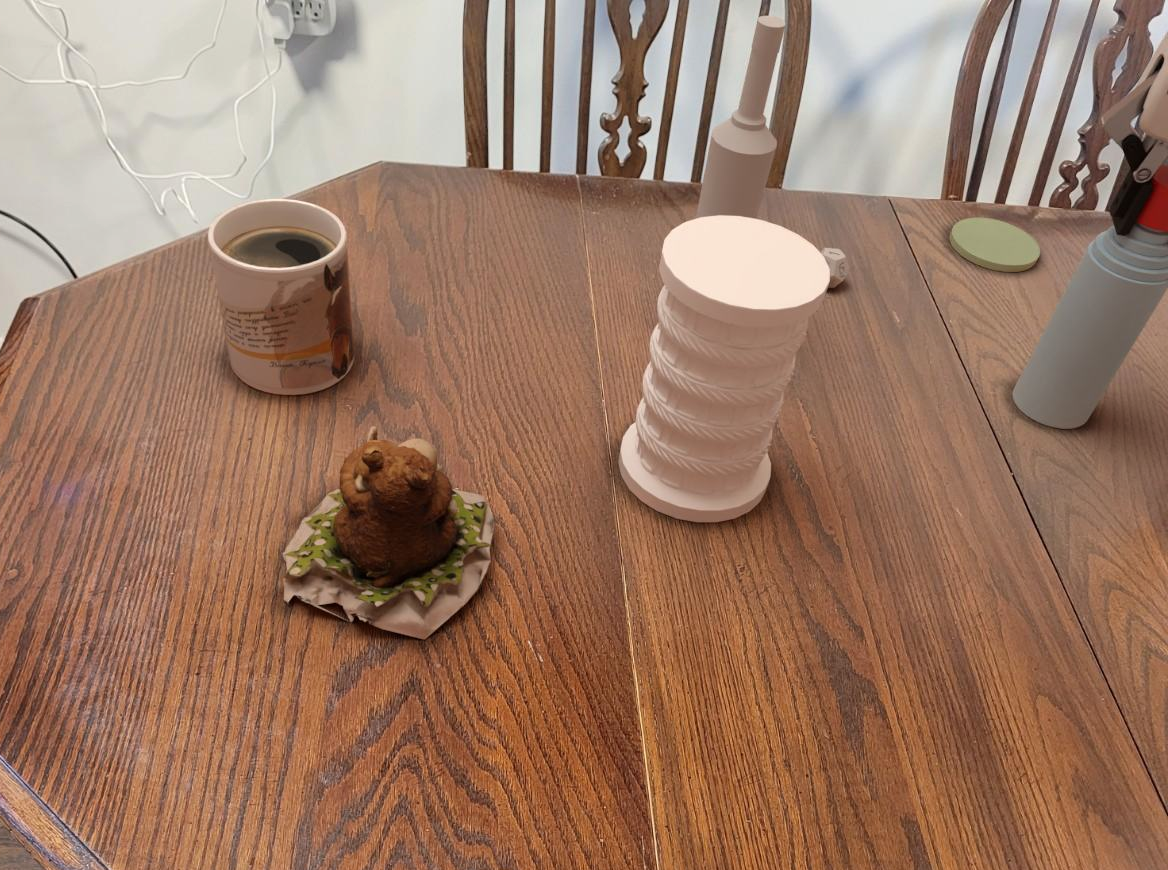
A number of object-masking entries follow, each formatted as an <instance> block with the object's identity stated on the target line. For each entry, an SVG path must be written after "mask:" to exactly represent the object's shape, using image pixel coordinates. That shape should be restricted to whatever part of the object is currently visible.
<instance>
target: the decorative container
mask: <svg viewBox="0 0 1168 870" xmlns="http://www.w3.org/2000/svg"><path fill="white" fill-rule="evenodd" d="M820 252H821V251H819V250H818V249H817V247H815V245H814V244H813V243H811V242H810V241H809V240H807V239H805V238H804V237H803V236H801V235H799V234H798V233H796V232H794V231H792V230H790V229H788V228H786V227H784V226H782V225H779V224H775V223H772V222H769V221H766V220H763V219H758V218H757V219H753V218H748V217H742V216H725V215H718V216H708V217H700V218H697V219H696V218H694V219H690V220H687V221H684V222H683V223H681V224H679V225H677V226H676V227H674V228H673V229H671V231H669V233H668V234H667V235H666V237H665V238H664V240H663V245H662V250H661V254H660V260H659V261H660V262H659V266H658V271H659V274H660V277H661V281H662V283H663V286H662V288H661V290H660V292H659V294H658V297H657V303H656V311H657V315H656V316H657V320H658V323H657V324H656V325H655V327H654V329H653V331H652V332H651V335H650V338H649V358H650V361H649V363H648V364H647V366H646V368H645V370H644V373H643V375H642V385H641V387H642V398H641V400H640V402H639V404H638V406H637V409H636V413H635V414H636V415H635V422H634V423H632V424H630V425H629V427H628V429H626V431H625V433H624V434H623V436H622V440H621V444H620V449H619V450H620V451H619V456H618V461H617V462H618V467H619V473H620V476H621V478H622V480H623V481H624V483H625V486H626V487H627V489H628V490H629V491H630V492H631V493H632V494H633V495H634V496H635V497H636V498H637V499H638V500H640V502H641V503H643V504H646V505H647V506H648V507H650V508H651V509H653V510H655V511H656V512H658V513H661V514H663V515H666V516H669V517H672V518H674V519H677V520H682V521H687V522H692V523H720V522H724V521H729V520H734V519H737V518H739V517H742V516H743V515H745V514H747V513H749V512H751V511H752V510H753V509H754V508H755V507H756V506H757V505H758V504H760V503H761V501H762V500H763V497H764V496H765V493H766V492H767V489H768V487H769V483H770V480H771V475H772V474H771V472H772V462H771V460H770V459H771V458H770V455H769V448H770V447H771V446H772V443H771V441H772V440H773V432H774V431H773V428H774V426H775V424H776V422H777V420H778V419H779V418H780V413H782V412H783V409H782V407H783V406H784V392H785V391H786V389H787V387H788V385H789V384H790V382H791V381H792V376H794V375H795V373H794V370H795V369H796V354H797V353H798V351H799V349H800V347H801V346H802V344H803V342H805V339H804V338H805V337H807V336H808V335H807V333H806V332H807V330H808V329H809V317H811V316H812V315H813V314H814V313H815V312H816V311H819V309H820V307H821V306H822V303H823V301H824V299H825V296H826V294H827V291H828V289H829V288H828V285H829V282H830V269H829V267H828V265H827V262H826V260H825V258H824V256H823V255H822V254H821V253H820Z"/></svg>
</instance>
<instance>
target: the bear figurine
mask: <svg viewBox="0 0 1168 870" xmlns="http://www.w3.org/2000/svg"><path fill="white" fill-rule="evenodd" d="M438 459H439V458H438V453H437V450H436V448H435V447H434V446H433V444H431V443H430V442H429V441H427V440H425V439H423V438H411V439H408V440H405V441H403V442H401V444H399V445H397V444H396V443H394V442H392V441H389V440H387V439H378V428H377V426H375V425H371V426H370V427H369V430H368V431H367V435H366V438H365V444H363V445H361V446H358V447H356V448H355V449H353V450H352V451H351V452H350V453H349V455H347V457H345V458H344V460H343V463H342V466H341V467H340V469H339V483H338V484H339V488H337V489H334V490H332V491H330V492H328V494H327V495H326V496H325V497H324V498H323V499H322V500H321V501H320V502H319V503H318V504H317V505H316V507H315V508H314V509H313V510H312V511H311V512H310V513H309V514H308V515H307V516H305V517H303V518H302V520H301V522H300V523H299V527H298V529H297V530H296V532H295V533H294V534H293V536H292V538H291V540H290V541H289V543H288V545H287V546H286V547H285V549H284V551H283V552H282V558H283V560H284V561H285V565H286V573H285V574H284V575H283V579H282V584H283V601H284V602H286V604H287V605H290V603H289V602H290V601H291V599H292V598H293V597H294V596H296V597H297V598H298V599H299V600H300V601H302V602H304V603H306V604H308V605H311V606H312V607H315V608H318V609H320V610H322V611H325V612H327V613H329V614H331V615H333V616H336V617H338V618H340V619H343V620H345V621H347V622H351V623H352V622H353V621H354V619H355V616H356V617H358V619H359V620H360V621H363V622H364V623H366V622H368V624H369V625H371V626H373V627H376V628H378V629H381V630H385V631H389V632H393V633H397V634H401V635H405V636H409V637H413V638H417V639H420V640H426V639H428V638H429V636H431V635H432V634H433V633H435V631H436V630H438V629H439V628H440V627H441V626H442V625H443V624H444V623H446V622H447V621H448V620H449V619H450V618H451V617H452V616H453V615H454V614H455V613H457V612H458V611H459V610H460V609H462V608H463V607H464V605H466V604H467V603H468V602H469V600H471V598H472V597H473V596H474V595H475V594H476V593H477V591H478V590H479V589H480V588H481V586H480V585H481V584H482V582H483V579H484V577H485V575H486V574H487V572H488V568H489V565H490V564H491V562H492V559H491V558H492V557H491V552H490V549H491V547H492V540H493V535H494V529H495V524H496V519H495V516H494V514H493V511H492V509H491V506H490V505H489V503H487V501H485V498H484V495H482V494H479V493H474V492H468V491H462V490H458V489H455V488H453V485H452V483H451V481H450V479H449V477H448V476H447V475H446V474H445V473H444V468H443V467H442V466H441V464H439V461H438ZM334 603H336V604H338V605H339V606H341V607H342V608H343V610H344V612H345V614H346V615H347V617H348V619H349V620H347V619H346V618H343V617H342V616H340V615H338V614H335V613H334V612H332V611H330V610H328V609H325V608H323V607H322V606H320V605H327V604H334Z"/></svg>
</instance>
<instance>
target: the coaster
mask: <svg viewBox="0 0 1168 870" xmlns="http://www.w3.org/2000/svg"><path fill="white" fill-rule="evenodd" d="M948 239H949V243H950V245H951V247H952V248H953V249H954V251H956V253H957V254H959V256H961V257H963V258H964V259H965V260H967V261H969V262H971V263H973V264H975V265H977V266H979V267H983V268H985V269H988V270H991V271H998V272H1003V273H1018V272H1025V271H1027V270H1029V269H1031V268H1033V267H1034V266H1035V265H1036V263H1037V262H1038V259H1039V258H1040V255H1041V249H1040V246H1039V244H1038V242H1037V241H1036V239H1035V238H1034V237H1033V236H1032V235H1030V234H1029V233H1028V232H1026V231H1025V230H1023V229H1021V228H1020V227H1017V226H1016V225H1013V224H1011V223H1009V222H1005V221H1002V220H999V219H995V218H989V217H969V218H963V219H961V220H959V221H957V222H956V223H955V224H954V225H953V226H952V229H951V231H950V233H949V238H948Z"/></svg>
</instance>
